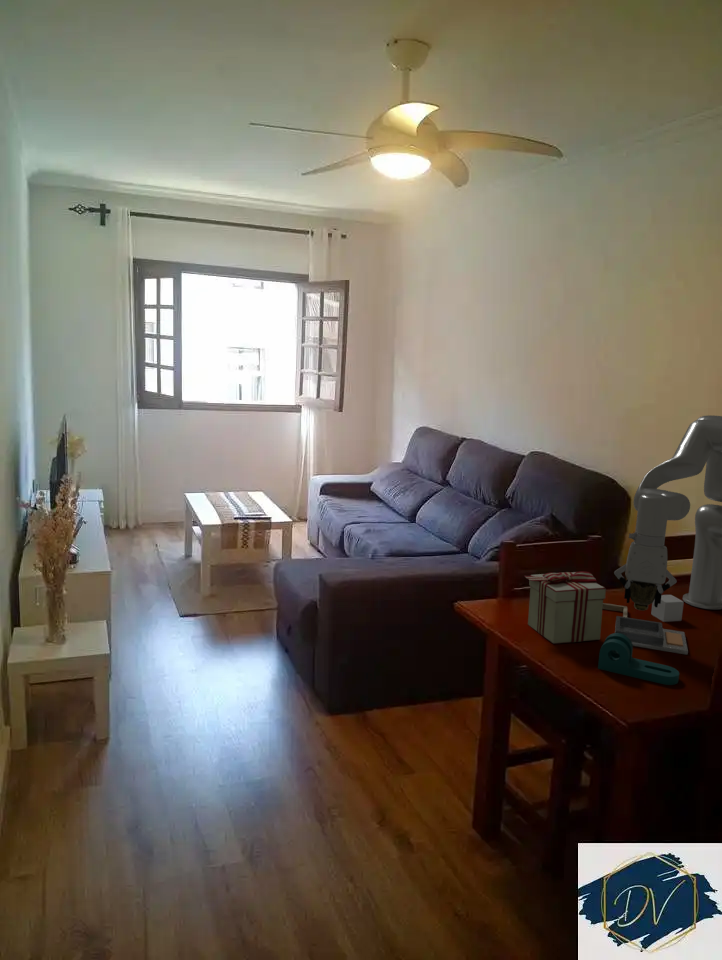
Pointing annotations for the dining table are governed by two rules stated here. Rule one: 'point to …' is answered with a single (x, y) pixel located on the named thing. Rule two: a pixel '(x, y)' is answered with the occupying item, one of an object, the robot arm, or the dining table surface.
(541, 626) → the gift box
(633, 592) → the cup
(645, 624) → the grey flat rectangular tray
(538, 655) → the dining table surface
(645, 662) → the bracket
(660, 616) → the white cube
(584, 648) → the dining table surface
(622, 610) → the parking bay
